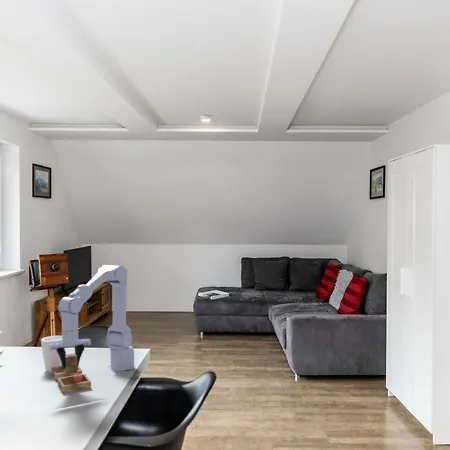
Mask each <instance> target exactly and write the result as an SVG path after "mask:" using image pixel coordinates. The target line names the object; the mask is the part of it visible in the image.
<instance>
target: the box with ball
mask: <svg viewBox="0 0 450 450" xmlns="http://www.w3.org/2000/svg"><path fill="white" fill-rule="evenodd" d="M80 375H82V377H83V381H82V382H81V383H75V382H74V377H75V376H76V375H74V376H68V377H62V378H58V381H57V387H58V388H59V390H60V392H61V393H62V394H67V393H68V394H69V393H73V392H77V391H84V390H88V389H89V390H90V389H92V381H91V380H90V378H89V377H88V376H87V375H86V373H82V374H80Z"/></svg>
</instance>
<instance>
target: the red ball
mask: <svg viewBox="0 0 450 450" xmlns="http://www.w3.org/2000/svg"><path fill="white" fill-rule="evenodd" d="M82 381H83V377H82V375H76V376H75V377H74V382H75V383H81V382H82Z"/></svg>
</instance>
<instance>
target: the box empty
mask: <svg viewBox="0 0 450 450" xmlns="http://www.w3.org/2000/svg"><path fill="white" fill-rule="evenodd" d="M50 373H51V374H50V375H51V376H52V377H53V380H54V381H55V382H58V378H62V377H68V376H74V375H80V374H83V370H82V368H81V366H80V365H79V366H78V367H77V373H71V374H65V372H64V369H63V368H62V366H57V367H51V372H50Z"/></svg>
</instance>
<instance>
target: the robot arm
mask: <svg viewBox="0 0 450 450" xmlns="http://www.w3.org/2000/svg"><path fill="white" fill-rule="evenodd" d="M105 282H106V283H109V284H110V285H111V286H112V287H113V295H112V296H113V300H112V304H113V305H112V325H110V326H109V327H108V328H107V334H106V338H105V341H106V342H105V343H106V344H107V345H108V349H110V365H108V366H107V368H108V369H109V370H110V371H111V372H113V373H114V372H115V373H116V372H121V371H130V370H134V369H136V367H135V351H134V350H135V349H134V347H133V345H132V343H133V335H132V329H131V328H130V326H128V325H127V324H126V323H127V322H126V321H127V317H126V316H127V298H128V297H127V294H128V291H127V289H128V269H127V268H126V267H125V266H124V265H120V264H119V265H113V264H112V265H111V264H103V265H101V267H99V268H98V269H97V273H96V274H95V275H94V276H93V277H92V278H91V279H90V280H89V281H88V282H87V283H86V284H79V285H77V288H76V289H75V290H73V292H71V293H70V294H69V295H68V296H64V297H62V298H61V299H60V301H59V303H58V305H57V309H58V311H59V313H60V317H61V336H62V342H58V343H54V344H49V350H50V351H52V350H56V351H57V353H58V355H59V357H60V359H61V363H62V368H63V369H66V363H65V356H66V355H67V352H66V349H69V348H73V347H74V353H75V354H76V355H77V367H78V366H79V367H80V361H81V358H82V354H83V353H84V351H85V346H91V344H92V340H91V339H90V338H82V339H79V312H81V310H82V307H83V305H84V303H85V302H87V301H88V300H89V299H90V298H91V297H92V295H93V291H94V290H95V289H97V288H98V287H99V286H102V284H103V283H105Z"/></svg>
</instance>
